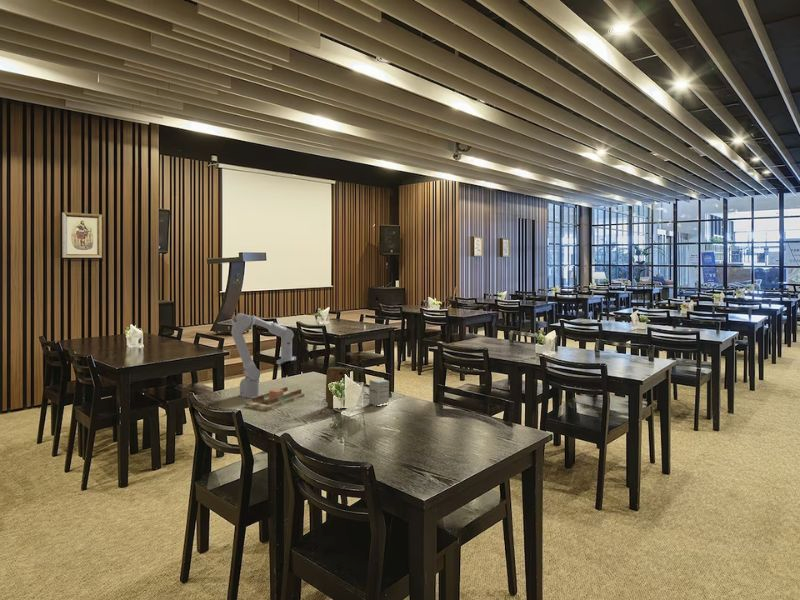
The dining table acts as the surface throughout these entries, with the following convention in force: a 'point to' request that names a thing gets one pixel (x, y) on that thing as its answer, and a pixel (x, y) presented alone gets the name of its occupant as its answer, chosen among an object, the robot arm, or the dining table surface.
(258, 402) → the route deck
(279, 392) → the block terracotta
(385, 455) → the dining table surface
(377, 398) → the supplement box
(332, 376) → the block
